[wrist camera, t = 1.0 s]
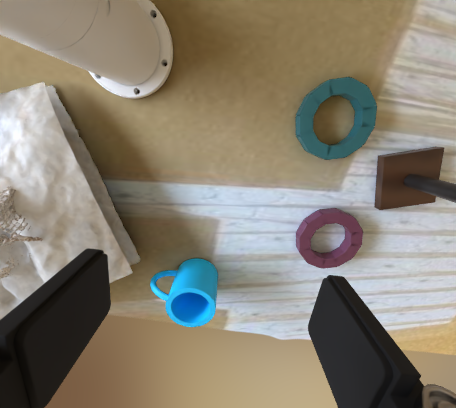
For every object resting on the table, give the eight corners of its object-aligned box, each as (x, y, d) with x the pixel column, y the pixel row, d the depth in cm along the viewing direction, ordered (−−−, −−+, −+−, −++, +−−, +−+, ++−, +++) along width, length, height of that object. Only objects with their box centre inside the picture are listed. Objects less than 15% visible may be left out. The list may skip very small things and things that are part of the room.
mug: (222, 264, 42) (221, 294, 34) (211, 296, 44) (208, 331, 37) (162, 248, 41) (146, 276, 33) (154, 282, 43) (138, 315, 35)
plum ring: (295, 212, 38) (298, 216, 36) (358, 205, 38) (365, 209, 36) (296, 264, 42) (299, 270, 40) (353, 258, 41) (359, 264, 39)
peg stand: (378, 155, 35) (459, 170, 23) (435, 146, 34) (550, 156, 22) (374, 207, 38) (444, 244, 26) (427, 199, 37) (524, 234, 25)
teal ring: (294, 86, 32) (299, 83, 30) (371, 75, 31) (380, 72, 29) (296, 161, 35) (300, 163, 33) (364, 152, 35) (372, 154, 33)
